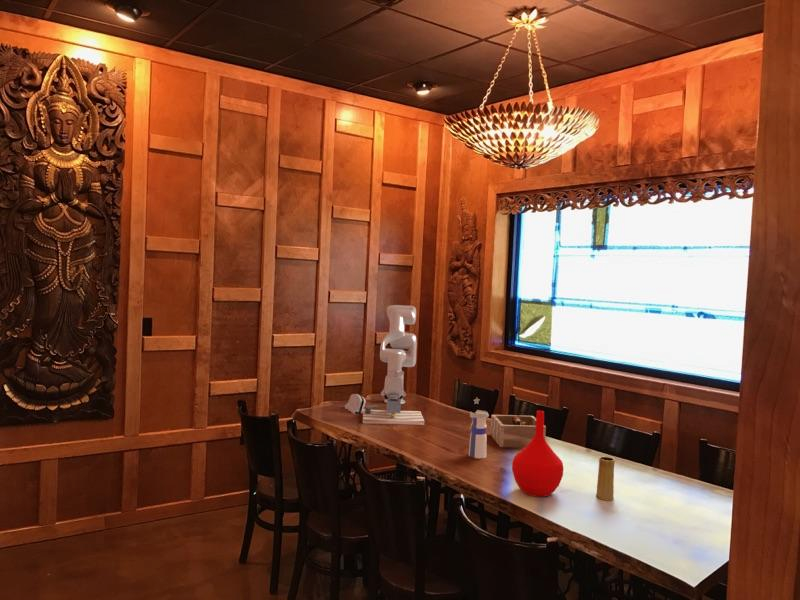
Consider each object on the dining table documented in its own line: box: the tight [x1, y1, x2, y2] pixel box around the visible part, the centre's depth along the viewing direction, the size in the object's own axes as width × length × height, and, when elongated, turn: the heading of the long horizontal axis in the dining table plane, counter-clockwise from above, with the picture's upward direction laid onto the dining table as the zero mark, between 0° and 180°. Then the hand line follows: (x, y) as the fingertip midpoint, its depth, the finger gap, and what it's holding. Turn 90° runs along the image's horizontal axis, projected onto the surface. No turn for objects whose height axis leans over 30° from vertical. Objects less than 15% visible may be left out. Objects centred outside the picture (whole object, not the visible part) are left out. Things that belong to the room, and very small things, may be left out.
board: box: [362, 409, 425, 426], centre depth 331 cm, size 23×32×2 cm
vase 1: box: [511, 410, 564, 498], centre depth 225 cm, size 18×18×30 cm
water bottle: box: [468, 397, 490, 459], centre depth 268 cm, size 8×9×25 cm
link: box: [386, 396, 402, 413], centre depth 332 cm, size 20×7×6 cm, turn 3°
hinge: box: [344, 393, 367, 415], centre depth 348 cm, size 17×5×10 cm, turn 25°
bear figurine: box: [511, 415, 526, 425], centre depth 296 cm, size 14×15×12 cm
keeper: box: [364, 404, 380, 414], centre depth 336 cm, size 4×9×5 cm, turn 138°
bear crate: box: [489, 414, 547, 449], centre depth 295 cm, size 22×21×10 cm
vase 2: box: [595, 456, 615, 501], centre depth 222 cm, size 6×6×14 cm
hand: (392, 407), depth 332 cm, fingers closed on link, 4 cm apart
